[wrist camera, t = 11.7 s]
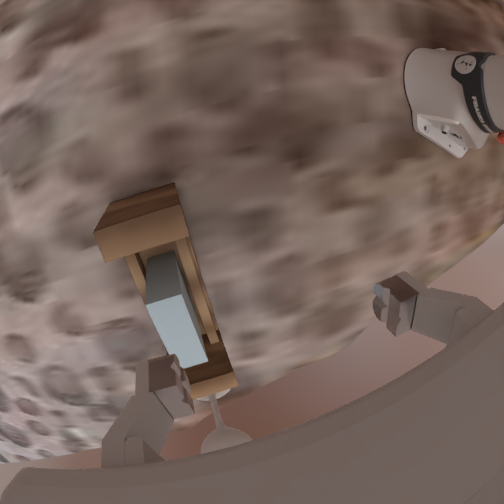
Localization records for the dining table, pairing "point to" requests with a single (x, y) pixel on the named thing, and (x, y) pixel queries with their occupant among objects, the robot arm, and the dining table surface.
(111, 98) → the dining table surface
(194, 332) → the door panel
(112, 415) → the dining table surface
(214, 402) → the wineglass
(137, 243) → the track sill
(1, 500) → the robot arm
